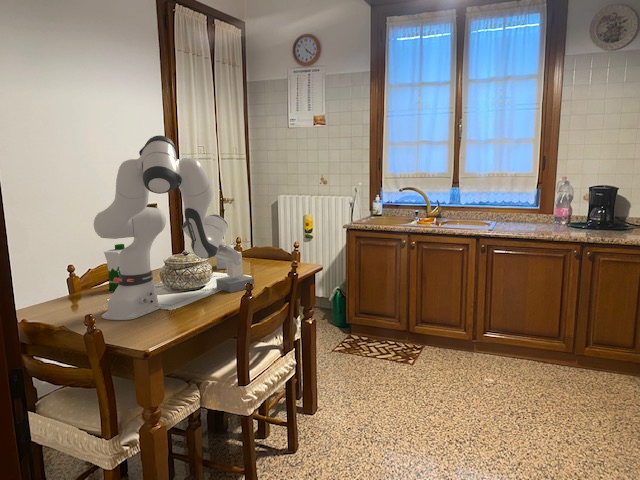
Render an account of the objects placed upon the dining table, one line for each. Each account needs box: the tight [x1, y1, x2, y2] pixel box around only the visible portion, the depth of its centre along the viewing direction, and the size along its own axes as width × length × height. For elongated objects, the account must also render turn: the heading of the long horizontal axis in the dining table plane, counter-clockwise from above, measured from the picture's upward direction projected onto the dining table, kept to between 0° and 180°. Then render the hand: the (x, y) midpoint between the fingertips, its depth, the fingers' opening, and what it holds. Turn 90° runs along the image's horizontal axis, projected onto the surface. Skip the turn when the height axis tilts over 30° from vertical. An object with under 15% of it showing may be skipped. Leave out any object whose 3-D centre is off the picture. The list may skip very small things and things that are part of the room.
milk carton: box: [103, 243, 126, 292], centre depth 224 cm, size 9×9×20 cm
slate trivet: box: [215, 274, 256, 294], centre depth 220 cm, size 12×12×4 cm
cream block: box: [226, 251, 244, 277], centre depth 219 cm, size 5×5×10 cm
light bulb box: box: [215, 244, 235, 270], centre depth 263 cm, size 11×7×11 cm, turn 172°
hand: (235, 263), depth 219 cm, fingers closed on cream block, 5 cm apart
